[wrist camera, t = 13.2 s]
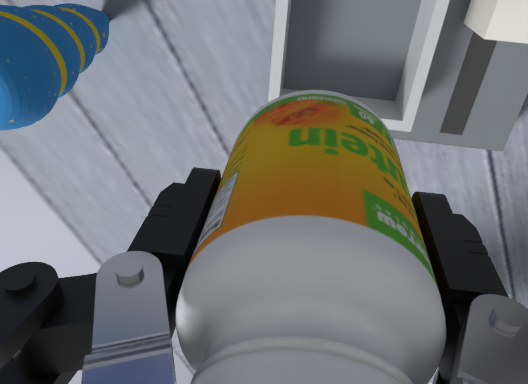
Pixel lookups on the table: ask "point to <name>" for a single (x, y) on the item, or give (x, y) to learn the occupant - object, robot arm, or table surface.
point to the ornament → (44, 56)
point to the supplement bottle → (311, 257)
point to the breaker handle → (499, 19)
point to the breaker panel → (404, 66)
